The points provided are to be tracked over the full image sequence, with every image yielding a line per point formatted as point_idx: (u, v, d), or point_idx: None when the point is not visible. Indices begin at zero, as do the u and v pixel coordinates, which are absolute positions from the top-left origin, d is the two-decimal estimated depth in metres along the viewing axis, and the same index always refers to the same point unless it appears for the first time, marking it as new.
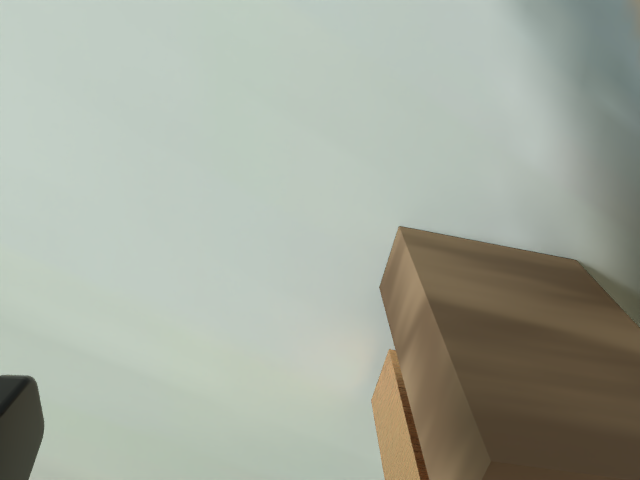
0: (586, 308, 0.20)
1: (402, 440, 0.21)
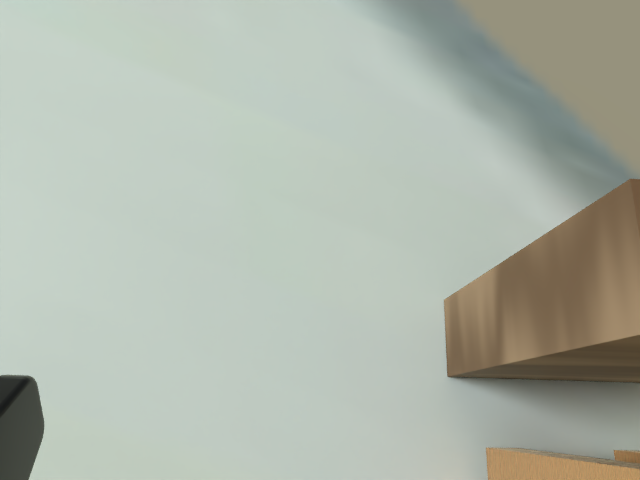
0: None
1: None
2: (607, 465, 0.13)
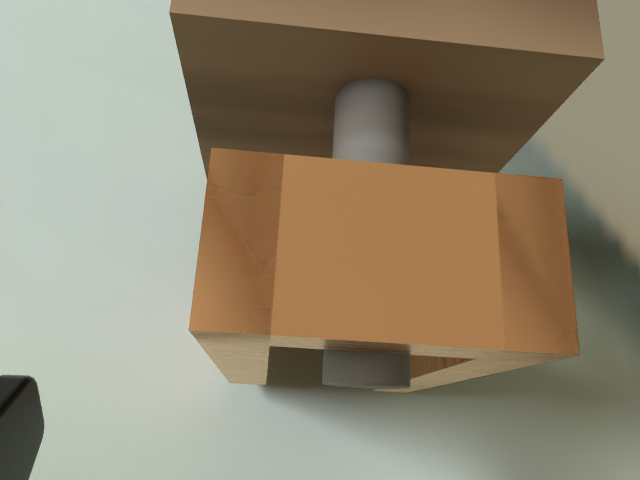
0: None
1: None
2: None
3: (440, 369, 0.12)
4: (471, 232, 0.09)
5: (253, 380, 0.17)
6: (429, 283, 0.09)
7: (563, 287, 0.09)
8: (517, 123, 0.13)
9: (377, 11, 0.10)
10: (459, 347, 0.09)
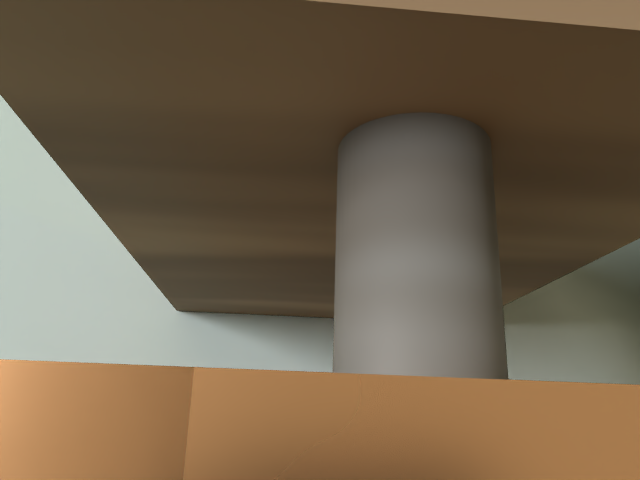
0: None
1: None
2: None
3: None
4: None
5: None
6: None
7: None
8: None
9: None
10: None
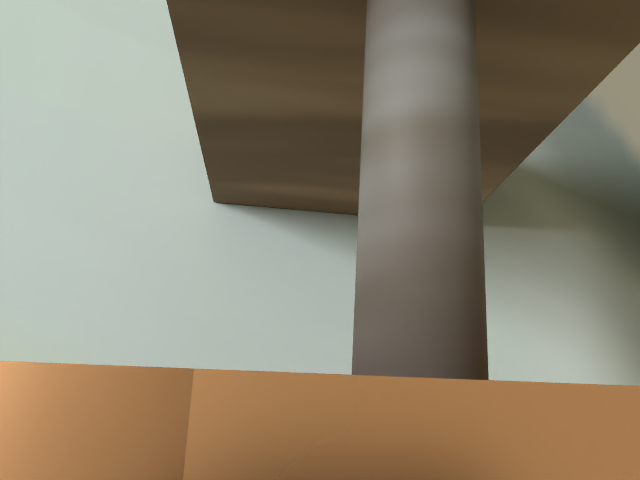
0: None
1: None
2: None
3: None
4: None
5: None
6: None
7: None
8: (619, 25, 0.09)
9: None
10: None
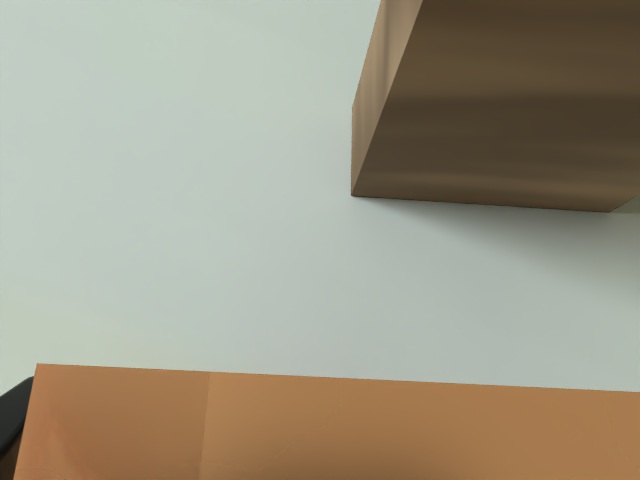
0: None
1: None
2: None
3: None
4: None
5: None
6: None
7: None
8: None
9: None
10: None
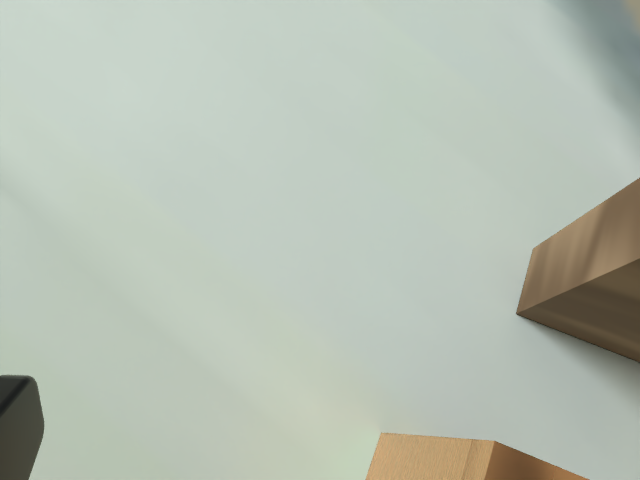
0: None
1: (403, 458, 0.16)
2: (439, 437, 0.14)
3: None
4: None
5: None
6: None
7: None
8: None
9: None
10: None
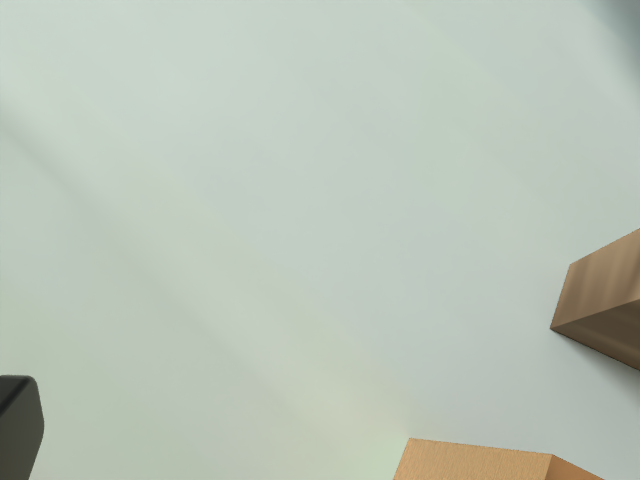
0: None
1: (438, 465, 0.16)
2: (482, 447, 0.14)
3: None
4: None
5: None
6: None
7: None
8: None
9: None
10: None
